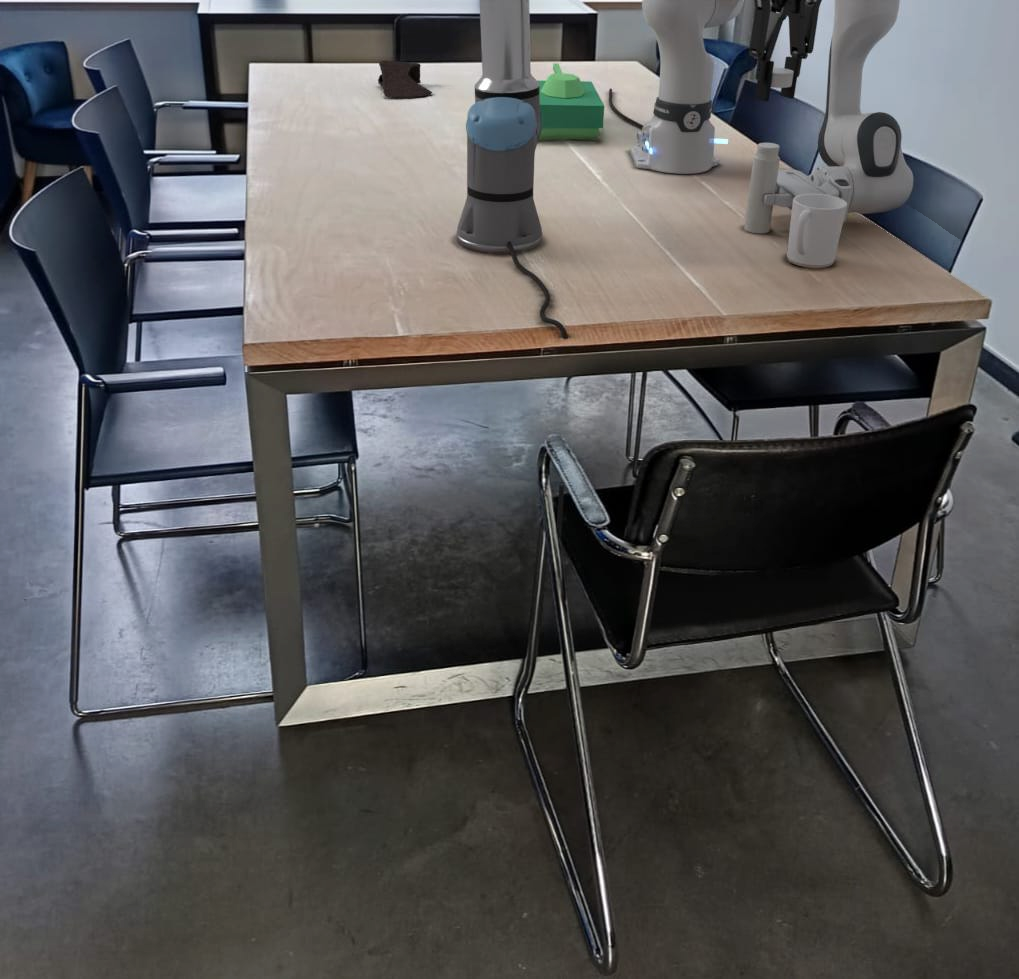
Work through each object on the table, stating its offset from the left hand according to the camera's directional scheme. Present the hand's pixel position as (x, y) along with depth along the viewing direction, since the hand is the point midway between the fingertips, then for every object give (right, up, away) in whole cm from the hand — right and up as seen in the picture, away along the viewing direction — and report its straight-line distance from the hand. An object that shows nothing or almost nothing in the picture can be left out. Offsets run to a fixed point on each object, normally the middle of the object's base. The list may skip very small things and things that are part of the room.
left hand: (774, 98), depth 192 cm
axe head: (-76, +41, +109) cm, 138 cm away
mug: (+5, -29, -3) cm, 30 cm away
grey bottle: (0, -20, +12) cm, 24 cm away
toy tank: (-34, +21, +78) cm, 88 cm away
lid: (0, +4, -2) cm, 4 cm away
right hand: (-1, -15, +9) cm, 17 cm away
